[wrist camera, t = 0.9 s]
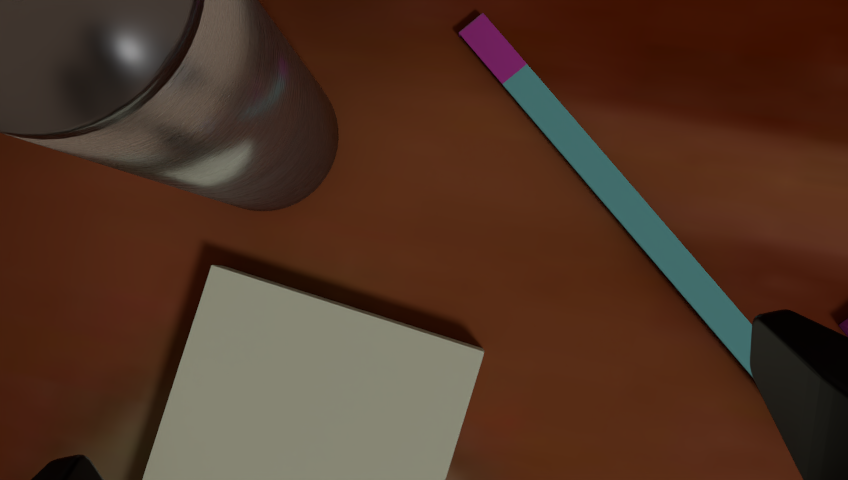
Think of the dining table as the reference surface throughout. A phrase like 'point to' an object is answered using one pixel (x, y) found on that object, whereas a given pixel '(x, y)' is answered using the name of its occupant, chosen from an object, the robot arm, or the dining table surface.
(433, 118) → the dining table surface
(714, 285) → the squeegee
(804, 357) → the robot arm
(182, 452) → the sage board
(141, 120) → the steel canister
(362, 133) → the dining table surface
